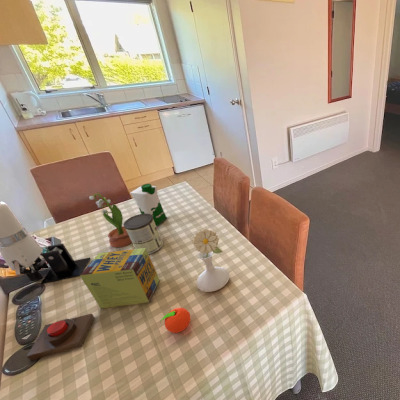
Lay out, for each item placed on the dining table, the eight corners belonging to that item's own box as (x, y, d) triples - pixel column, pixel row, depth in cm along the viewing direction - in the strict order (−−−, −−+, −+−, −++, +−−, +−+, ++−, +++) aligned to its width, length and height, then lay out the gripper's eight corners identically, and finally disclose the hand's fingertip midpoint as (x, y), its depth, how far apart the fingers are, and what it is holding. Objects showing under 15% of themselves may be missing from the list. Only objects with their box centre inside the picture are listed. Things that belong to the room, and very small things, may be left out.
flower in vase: (190, 289, 94) (169, 234, 82) (212, 267, 104) (196, 214, 91) (220, 300, 90) (203, 243, 78) (240, 276, 100) (228, 221, 87)
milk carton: (158, 227, 127) (143, 190, 117) (141, 225, 128) (125, 189, 118) (169, 216, 135) (157, 181, 125) (153, 215, 136) (139, 180, 126)
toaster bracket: (42, 286, 97) (23, 262, 91) (55, 267, 105) (39, 244, 99) (81, 277, 100) (66, 253, 94) (91, 260, 108) (78, 237, 102)
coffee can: (133, 247, 115) (120, 220, 108) (158, 236, 121) (148, 210, 114) (139, 258, 109) (126, 231, 101) (166, 246, 115) (155, 220, 108)
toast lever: (34, 274, 97) (24, 270, 95) (39, 268, 100) (30, 264, 98) (60, 255, 97) (51, 250, 95) (64, 250, 100) (55, 245, 98)
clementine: (163, 342, 78) (155, 327, 74) (165, 323, 83) (158, 308, 80) (193, 332, 80) (187, 317, 77) (192, 314, 86) (187, 299, 82)
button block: (30, 360, 74) (22, 352, 72) (49, 329, 82) (42, 321, 80) (82, 346, 77) (75, 338, 75) (95, 317, 85) (89, 309, 83)
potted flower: (101, 247, 115) (74, 197, 102) (120, 233, 123) (96, 186, 110) (126, 250, 113) (100, 200, 100) (143, 236, 121) (121, 187, 109)
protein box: (150, 302, 90) (133, 269, 82) (100, 309, 88) (78, 275, 80) (160, 279, 99) (146, 247, 91) (115, 284, 97) (97, 252, 89)
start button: (47, 338, 75) (43, 334, 74) (54, 326, 79) (51, 322, 78) (64, 334, 76) (61, 330, 76) (70, 322, 80) (67, 318, 79)
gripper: (12, 224, 96) (40, 262, 105) (-21, 255, 82) (14, 294, 92) (38, 220, 98) (63, 257, 107) (9, 249, 84) (41, 288, 94)
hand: (40, 274), depth 99 cm, fingers open, 4 cm apart
